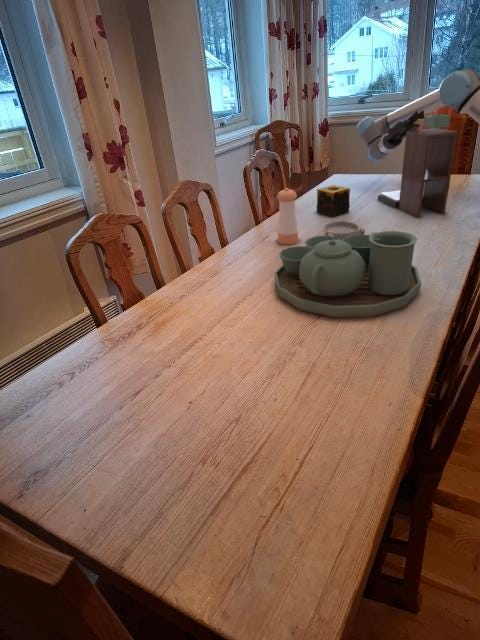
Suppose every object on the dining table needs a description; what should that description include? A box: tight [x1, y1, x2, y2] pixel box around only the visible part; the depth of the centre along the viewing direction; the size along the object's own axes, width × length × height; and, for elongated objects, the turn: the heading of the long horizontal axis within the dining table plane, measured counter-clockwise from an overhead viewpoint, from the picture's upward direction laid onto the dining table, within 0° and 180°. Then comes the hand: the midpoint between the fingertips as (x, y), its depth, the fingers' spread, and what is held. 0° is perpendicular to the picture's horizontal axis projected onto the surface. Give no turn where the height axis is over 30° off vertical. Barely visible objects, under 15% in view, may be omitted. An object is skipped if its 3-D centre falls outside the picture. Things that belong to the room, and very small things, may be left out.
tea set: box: [274, 230, 422, 318], centre depth 119 cm, size 40×40×16 cm
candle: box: [316, 184, 351, 218], centre depth 181 cm, size 10×10×10 cm
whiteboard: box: [377, 189, 423, 209], centre depth 187 cm, size 15×14×3 cm
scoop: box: [413, 113, 452, 129], centre depth 162 cm, size 21×6×4 cm, turn 12°
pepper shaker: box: [276, 187, 299, 245], centre depth 153 cm, size 7×7×19 cm
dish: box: [322, 220, 366, 241], centre depth 153 cm, size 14×14×5 cm
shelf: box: [398, 127, 459, 218], centre depth 168 cm, size 14×12×30 cm
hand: (420, 114), depth 164 cm, fingers closed on scoop, 2 cm apart
